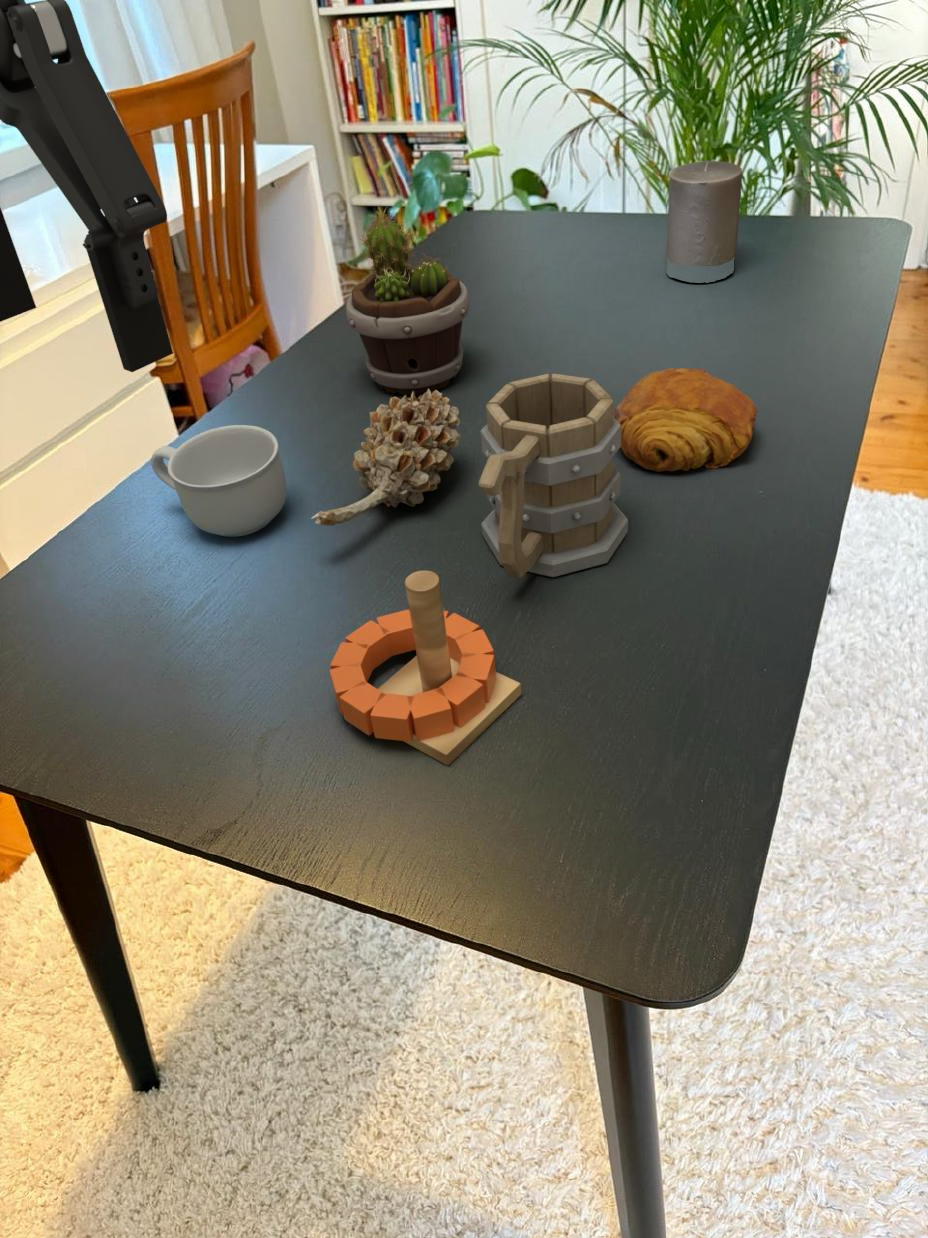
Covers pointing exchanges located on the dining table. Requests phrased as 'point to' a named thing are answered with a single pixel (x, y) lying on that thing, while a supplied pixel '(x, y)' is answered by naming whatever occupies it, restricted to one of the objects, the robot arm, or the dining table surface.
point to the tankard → (551, 476)
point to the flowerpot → (407, 315)
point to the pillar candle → (703, 213)
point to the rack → (441, 670)
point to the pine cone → (402, 453)
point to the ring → (418, 711)
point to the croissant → (684, 421)
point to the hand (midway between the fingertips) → (77, 337)
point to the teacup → (226, 478)
